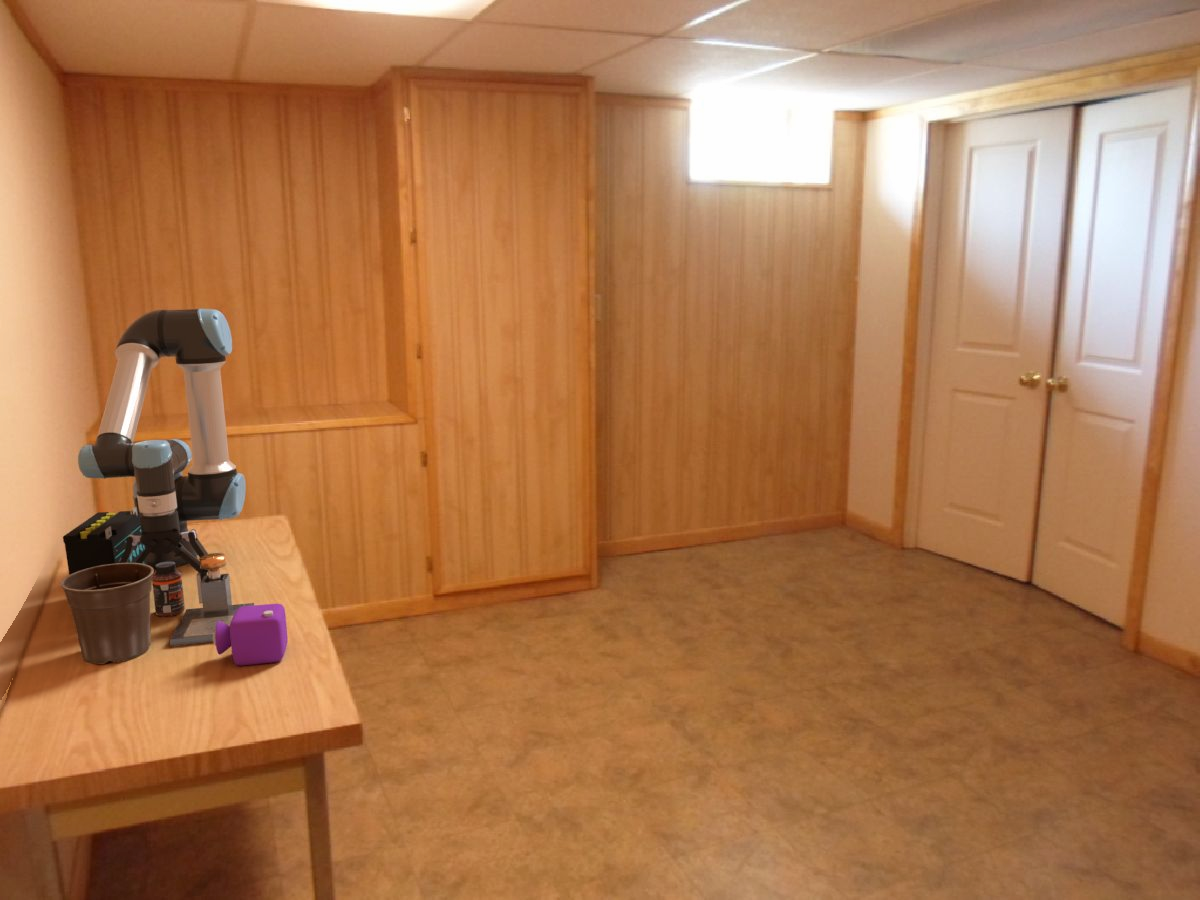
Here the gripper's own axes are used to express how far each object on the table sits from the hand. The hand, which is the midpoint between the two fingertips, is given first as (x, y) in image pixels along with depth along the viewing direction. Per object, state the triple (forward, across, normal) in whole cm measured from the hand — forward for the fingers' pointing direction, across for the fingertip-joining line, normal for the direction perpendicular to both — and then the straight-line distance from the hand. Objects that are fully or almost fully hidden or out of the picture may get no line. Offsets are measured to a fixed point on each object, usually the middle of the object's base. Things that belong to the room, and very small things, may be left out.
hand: (169, 604), depth 203 cm
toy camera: (+2, +21, -30) cm, 37 cm away
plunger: (-5, +11, -6) cm, 13 cm away
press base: (+2, +11, -11) cm, 16 cm away
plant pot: (+2, -6, -20) cm, 21 cm away
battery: (+2, -14, +10) cm, 17 cm away
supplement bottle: (+2, 0, 0) cm, 2 cm away
